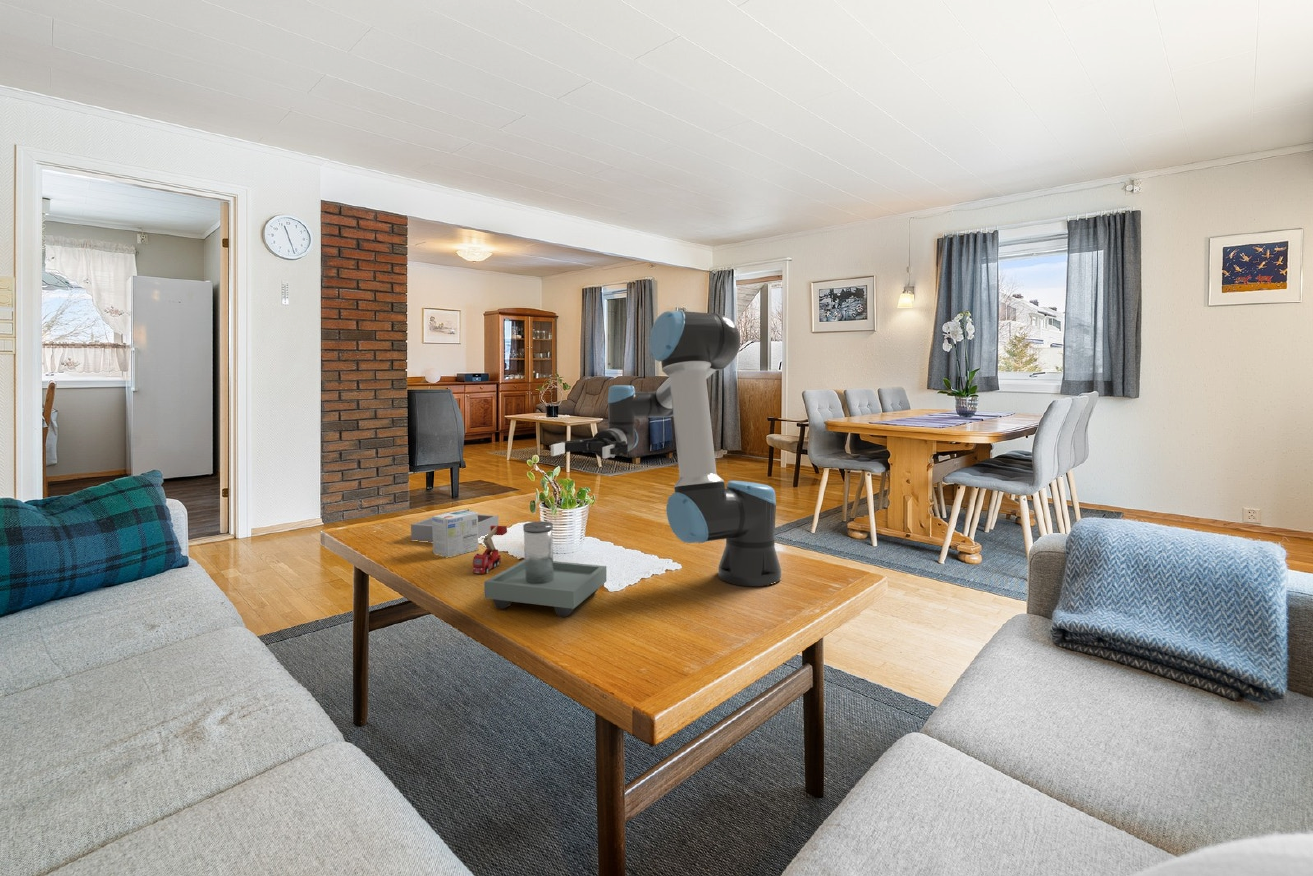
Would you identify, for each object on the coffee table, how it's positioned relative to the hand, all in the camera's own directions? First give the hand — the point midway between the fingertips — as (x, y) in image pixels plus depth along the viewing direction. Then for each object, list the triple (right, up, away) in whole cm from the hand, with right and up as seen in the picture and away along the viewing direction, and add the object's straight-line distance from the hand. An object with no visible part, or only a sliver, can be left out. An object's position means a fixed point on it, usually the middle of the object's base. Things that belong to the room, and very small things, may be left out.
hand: (577, 451), depth 158 cm
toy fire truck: (-23, -30, +7) cm, 38 cm away
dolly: (-4, -32, -17) cm, 37 cm away
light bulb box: (-36, -28, +20) cm, 50 cm away
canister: (-6, -27, -17) cm, 33 cm away
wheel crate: (-41, -26, +37) cm, 61 cm away
